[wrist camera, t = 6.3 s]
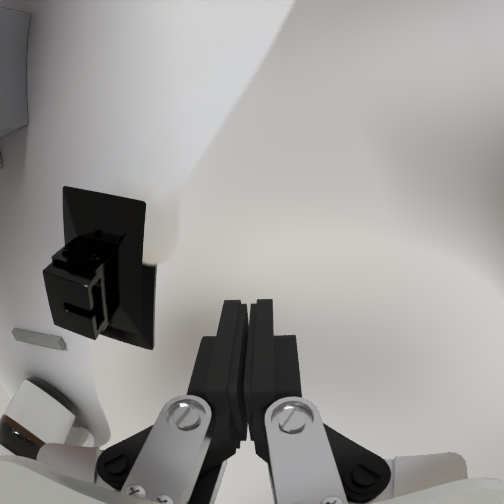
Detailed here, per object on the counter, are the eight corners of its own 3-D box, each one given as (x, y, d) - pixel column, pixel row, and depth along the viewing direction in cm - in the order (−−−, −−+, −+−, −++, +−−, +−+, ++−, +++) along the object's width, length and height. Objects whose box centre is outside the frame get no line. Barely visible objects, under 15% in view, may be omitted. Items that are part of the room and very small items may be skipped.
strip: (14, 328, 19) (11, 331, 19) (61, 336, 19) (57, 341, 18) (19, 336, 20) (15, 339, 19) (65, 345, 19) (62, 350, 19)
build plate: (155, 346, 19) (136, 397, 15) (71, 319, 19) (43, 360, 15) (166, 173, 14) (127, 201, 9) (56, 158, 13) (2, 179, 9)
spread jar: (30, 361, 21) (-18, 441, 11) (114, 421, 25) (85, 507, 14) (23, 392, 26) (-10, 452, 15) (88, 438, 29) (65, 501, 18)
